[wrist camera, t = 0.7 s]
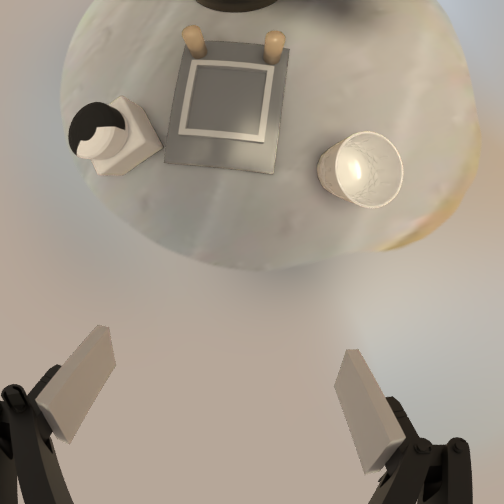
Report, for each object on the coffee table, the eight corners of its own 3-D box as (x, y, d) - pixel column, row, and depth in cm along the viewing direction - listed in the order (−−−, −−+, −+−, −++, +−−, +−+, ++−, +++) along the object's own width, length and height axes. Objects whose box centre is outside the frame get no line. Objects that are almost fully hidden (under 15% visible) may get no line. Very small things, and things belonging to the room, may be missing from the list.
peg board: (188, 44, 30) (176, 20, 23) (288, 52, 30) (296, 28, 23) (166, 163, 34) (147, 160, 27) (272, 174, 35) (278, 172, 28)
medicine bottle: (103, 136, 33) (53, 125, 21) (142, 107, 32) (102, 82, 20) (122, 176, 34) (75, 177, 23) (164, 147, 34) (127, 135, 22)
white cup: (321, 206, 36) (346, 216, 26) (305, 149, 34) (325, 138, 24) (372, 192, 35) (409, 198, 26) (358, 137, 34) (392, 126, 24)
